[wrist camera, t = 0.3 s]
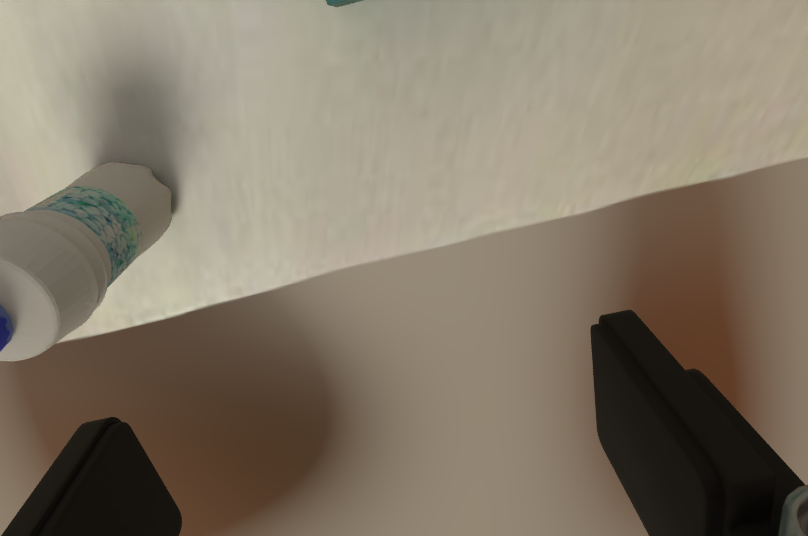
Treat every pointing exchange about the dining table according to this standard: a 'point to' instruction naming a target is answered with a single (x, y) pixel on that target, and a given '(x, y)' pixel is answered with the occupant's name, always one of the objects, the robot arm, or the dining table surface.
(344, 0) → the teal hollow box
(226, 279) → the dining table surface
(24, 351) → the bottle
